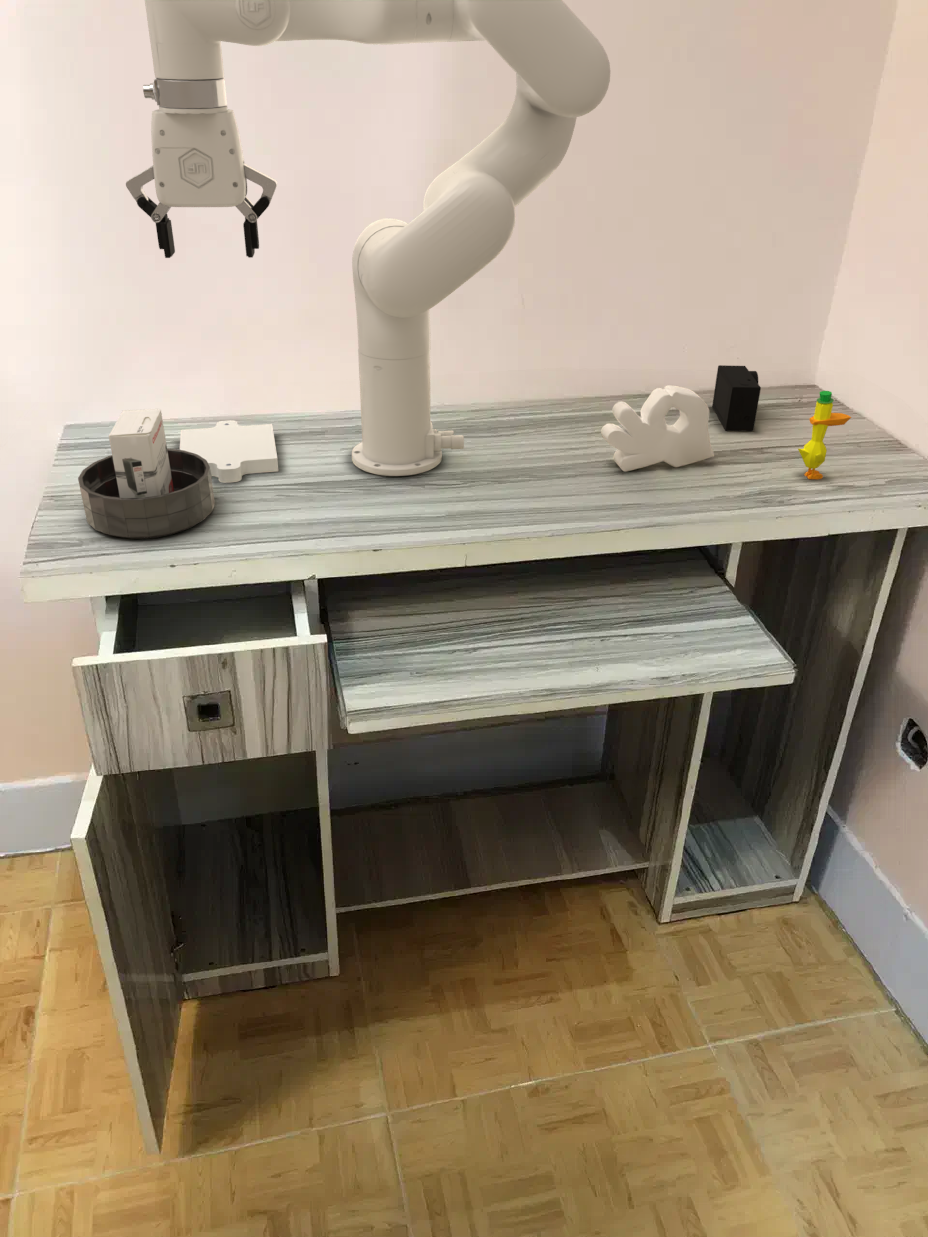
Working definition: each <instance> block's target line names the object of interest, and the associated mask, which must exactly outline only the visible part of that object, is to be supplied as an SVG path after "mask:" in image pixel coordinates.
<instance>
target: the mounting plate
mask: <svg viewBox="0 0 928 1237" xmlns="http://www.w3.org/2000/svg"><path fill="white" fill-rule="evenodd" d="M273 428H274V427H273V423H265V424H249V425H240V424H239V423H238V421H237V420H233V419H232V420H231V419H230V420H220V421H217V422H216V423H215V426H212V427H204V428H203V427H202V428H187V429H185V428H184V429H180V437H179V450H184V451H188V452H191V453H195V454H198V455H199V456H201V457H202V458H204V459H205V460H207V462H208V464H209V466H210V469H211V477H216V478H217V479H218V481H219V483H222V484H230V483H238V482H240V481H242V477H243V476H244V475H249V474H263V473H277V472H279V463H278V454H277V447H276V440H275V432H274V429H273Z"/></svg>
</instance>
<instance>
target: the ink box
mask: <svg viewBox="0 0 928 1237" xmlns="http://www.w3.org/2000/svg"><path fill="white" fill-rule="evenodd" d="M164 426H165V425H164V419H163V413H162V409H161V408H146V409H145V408H144V409H125V410H124V409H123V410H121V413H120V414H119V416H118V418H117V419H116V422H115V424H114V426H113V427H112V429H111V431H110V433H109V434H108V440H109V446H110V451H111V455H112V457H113V462H114V467H115V473H116V478H117V484H118V489H119V495H120V498H145V497H151V496H158V495H164V494H168V493H171V492H174V489H173V482H172V476H171V470H170V464H169V457H168V451H167V449H168V446H167V445H168V444H167V440H166V433H165V428H164Z"/></svg>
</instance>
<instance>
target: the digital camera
mask: <svg viewBox="0 0 928 1237" xmlns="http://www.w3.org/2000/svg"><path fill="white" fill-rule="evenodd" d="M761 389H762V388H761V386H760V384H759V374H758V371H756V370H749V369H748V367H746V365H718V366H717V371H716V379H715V385H714V392H713V398H712V405H711V408H712V410H713V412H714V413H715V415H716V417H717V419H718V421H719V422H720V424H721V426H722V428H723V429H724V431H725V432H754V430H755V425H756V424H755V423H756V418H757V413H758V407H759V401H760V395H761Z"/></svg>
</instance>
